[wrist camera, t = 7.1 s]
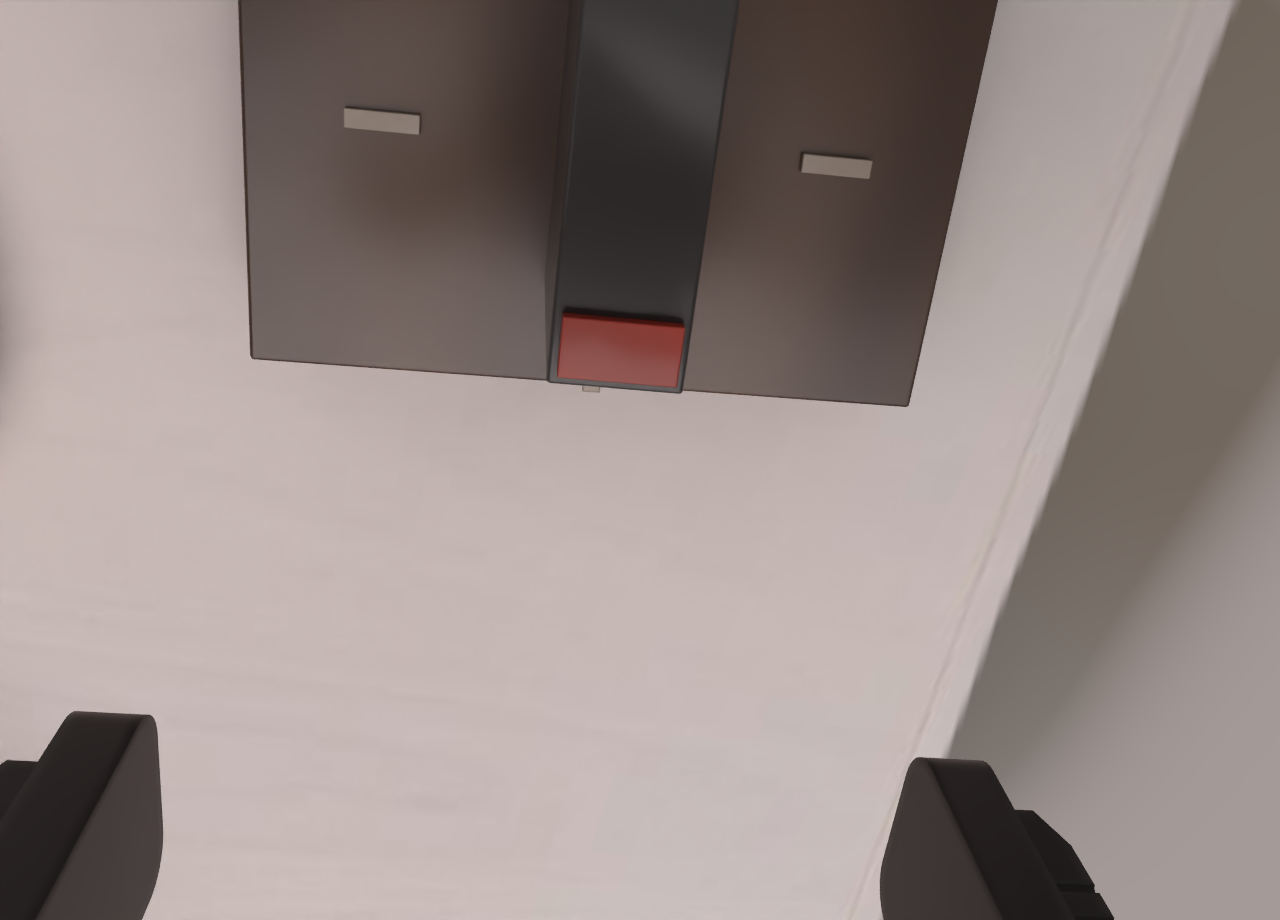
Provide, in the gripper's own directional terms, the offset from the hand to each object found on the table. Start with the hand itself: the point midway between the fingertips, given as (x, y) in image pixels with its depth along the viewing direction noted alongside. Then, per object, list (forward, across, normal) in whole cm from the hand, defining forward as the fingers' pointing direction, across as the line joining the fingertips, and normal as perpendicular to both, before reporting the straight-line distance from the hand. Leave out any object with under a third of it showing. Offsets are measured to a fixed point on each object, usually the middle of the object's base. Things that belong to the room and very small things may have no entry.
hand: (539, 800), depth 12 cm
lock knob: (+13, -1, -5) cm, 14 cm away
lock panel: (+16, -1, -5) cm, 17 cm away
